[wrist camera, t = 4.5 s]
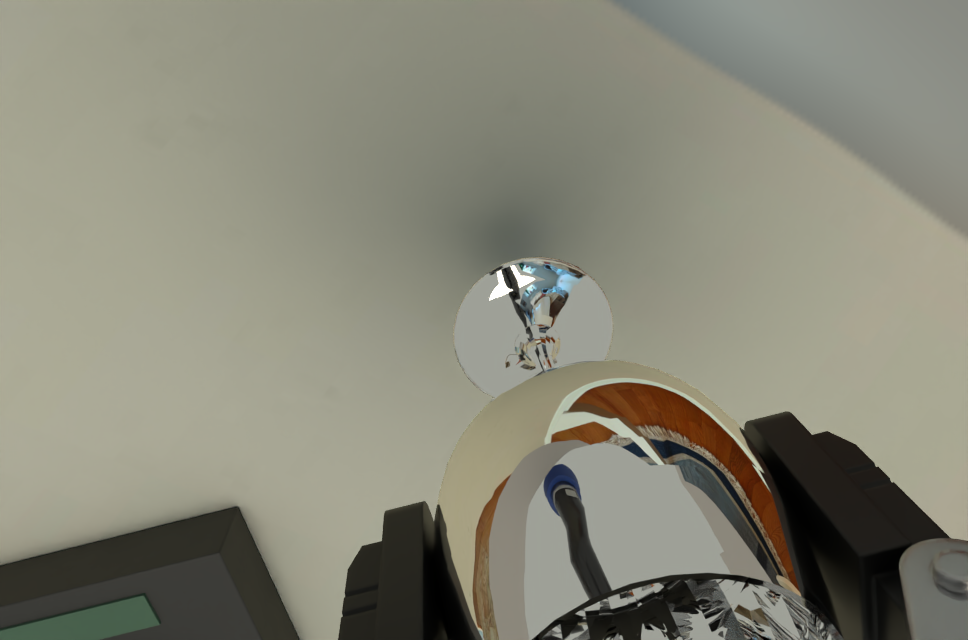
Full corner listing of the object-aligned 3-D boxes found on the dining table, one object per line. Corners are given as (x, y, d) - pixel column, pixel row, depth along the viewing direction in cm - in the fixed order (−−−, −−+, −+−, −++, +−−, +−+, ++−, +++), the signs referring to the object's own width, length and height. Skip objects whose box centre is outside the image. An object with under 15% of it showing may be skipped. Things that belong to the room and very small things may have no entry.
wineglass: (677, 329, 20) (982, 699, 9) (530, 459, 22) (642, 921, 10) (537, 186, 18) (709, 436, 7) (384, 338, 20) (337, 744, 9)
